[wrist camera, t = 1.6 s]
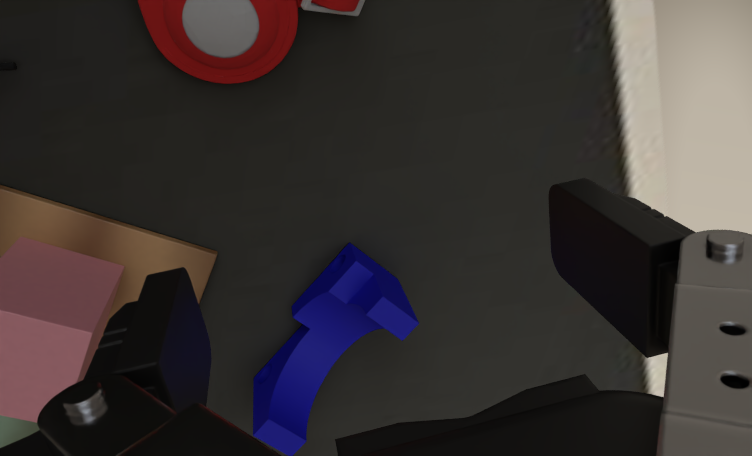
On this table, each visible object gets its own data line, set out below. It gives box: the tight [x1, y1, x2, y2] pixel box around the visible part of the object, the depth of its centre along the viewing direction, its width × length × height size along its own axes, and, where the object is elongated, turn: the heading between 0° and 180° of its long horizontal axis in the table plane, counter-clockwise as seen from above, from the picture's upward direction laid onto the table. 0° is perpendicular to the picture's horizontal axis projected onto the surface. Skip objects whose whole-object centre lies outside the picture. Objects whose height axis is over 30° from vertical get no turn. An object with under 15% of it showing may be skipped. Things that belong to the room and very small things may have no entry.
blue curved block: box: [253, 242, 419, 456], centre depth 39 cm, size 12×4×6 cm, turn 139°
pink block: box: [0, 237, 125, 423], centre depth 34 cm, size 6×6×8 cm
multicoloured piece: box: [0, 185, 218, 448], centre depth 39 cm, size 16×24×1 cm, turn 158°
